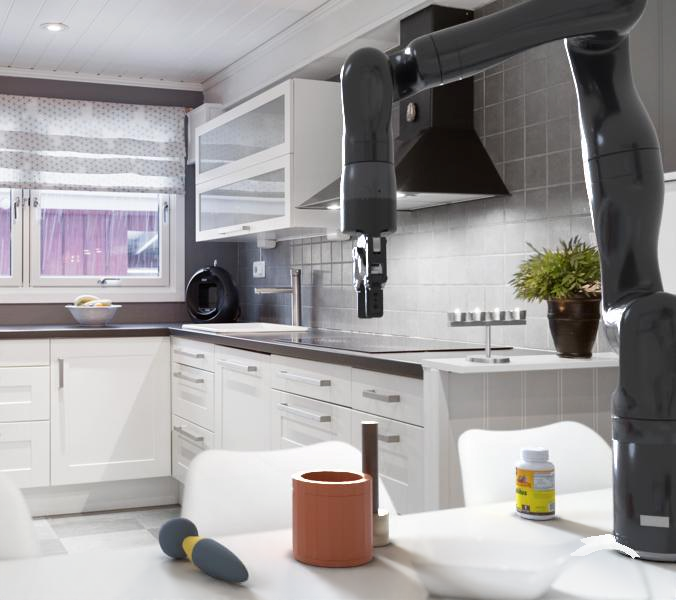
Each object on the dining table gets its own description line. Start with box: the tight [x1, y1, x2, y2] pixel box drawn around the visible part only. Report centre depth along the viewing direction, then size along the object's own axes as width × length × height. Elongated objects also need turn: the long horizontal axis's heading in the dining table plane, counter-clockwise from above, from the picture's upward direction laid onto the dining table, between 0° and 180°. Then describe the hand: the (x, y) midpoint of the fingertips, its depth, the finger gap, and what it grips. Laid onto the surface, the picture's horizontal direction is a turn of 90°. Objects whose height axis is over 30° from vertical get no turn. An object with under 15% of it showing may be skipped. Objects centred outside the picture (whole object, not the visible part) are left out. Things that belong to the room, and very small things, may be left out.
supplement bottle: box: [515, 446, 556, 521], centre depth 126 cm, size 6×6×10 cm
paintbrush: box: [158, 517, 250, 584], centre depth 100 cm, size 20×5×5 cm, turn 38°
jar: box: [291, 469, 374, 568], centre depth 105 cm, size 10×10×10 cm
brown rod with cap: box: [361, 421, 390, 547], centre depth 112 cm, size 5×5×16 cm
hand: (369, 318), depth 112 cm, fingers open, 8 cm apart
